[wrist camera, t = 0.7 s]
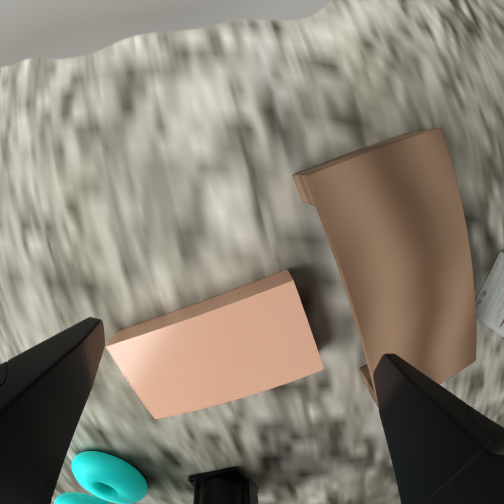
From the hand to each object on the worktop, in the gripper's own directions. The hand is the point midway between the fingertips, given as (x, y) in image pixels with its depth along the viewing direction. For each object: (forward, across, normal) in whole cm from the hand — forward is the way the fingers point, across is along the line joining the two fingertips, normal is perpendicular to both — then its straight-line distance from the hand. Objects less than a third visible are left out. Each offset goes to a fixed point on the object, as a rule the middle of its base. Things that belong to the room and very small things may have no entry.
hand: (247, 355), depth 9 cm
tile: (+13, 0, +10) cm, 17 cm away
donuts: (+10, +12, +33) cm, 36 cm away
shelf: (+14, -13, +2) cm, 19 cm away
